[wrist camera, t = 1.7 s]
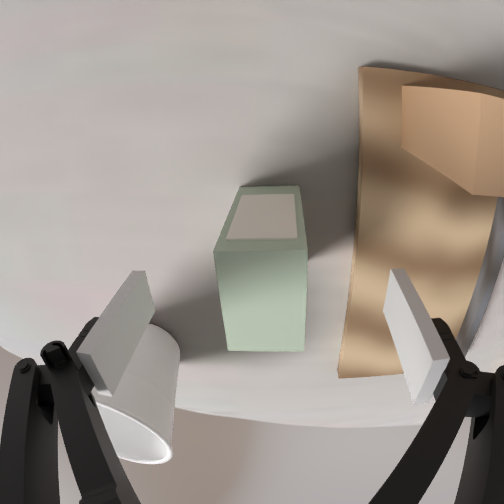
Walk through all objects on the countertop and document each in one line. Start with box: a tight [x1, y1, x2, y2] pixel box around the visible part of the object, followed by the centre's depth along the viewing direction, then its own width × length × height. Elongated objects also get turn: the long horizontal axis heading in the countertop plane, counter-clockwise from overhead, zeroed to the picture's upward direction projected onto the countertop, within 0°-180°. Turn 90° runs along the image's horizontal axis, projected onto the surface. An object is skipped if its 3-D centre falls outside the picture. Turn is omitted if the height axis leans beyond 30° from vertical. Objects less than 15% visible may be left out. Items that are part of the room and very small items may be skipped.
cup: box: [91, 324, 180, 464], centre depth 25 cm, size 10×10×11 cm
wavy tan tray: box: [337, 66, 504, 378], centre depth 21 cm, size 26×12×3 cm, turn 4°
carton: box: [213, 186, 308, 352], centre depth 19 cm, size 4×6×9 cm, turn 4°
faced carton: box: [401, 86, 504, 197], centre depth 13 cm, size 4×6×9 cm, turn 94°
